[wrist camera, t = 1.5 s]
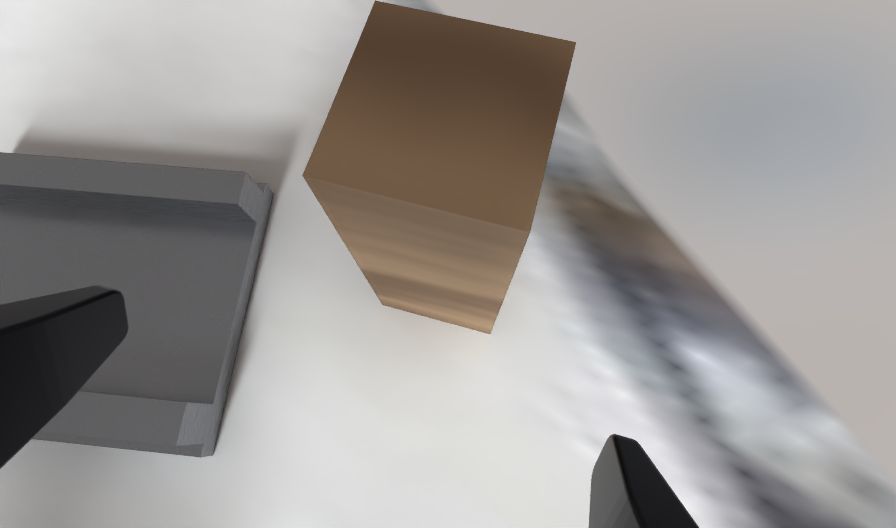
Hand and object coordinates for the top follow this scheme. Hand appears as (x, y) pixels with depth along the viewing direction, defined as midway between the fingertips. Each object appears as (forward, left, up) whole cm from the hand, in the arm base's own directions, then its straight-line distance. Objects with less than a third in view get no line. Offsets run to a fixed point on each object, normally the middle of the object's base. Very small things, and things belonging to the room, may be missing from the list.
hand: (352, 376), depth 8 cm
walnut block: (+6, -1, -13) cm, 14 cm away
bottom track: (+3, +15, -12) cm, 20 cm away
